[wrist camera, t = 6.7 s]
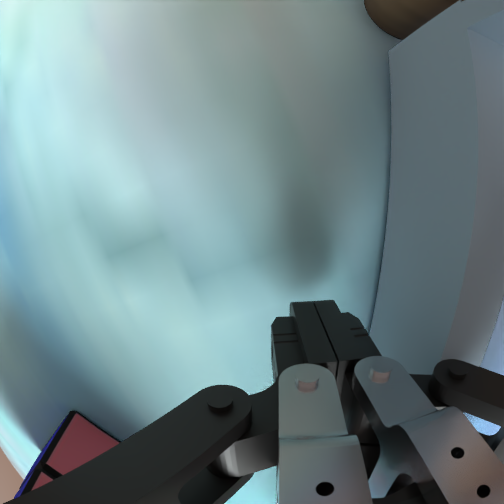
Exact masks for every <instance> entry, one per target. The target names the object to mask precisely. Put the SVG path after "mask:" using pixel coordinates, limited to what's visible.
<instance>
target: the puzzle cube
mask: <svg viewBox="0 0 504 504" xmlns="http://www.w3.org/2000/svg"><path fill="white" fill-rule="evenodd" d="M119 443H121V442H120V441H118V440H117V439H115V438H113V437H112V436H110V435H109V434H107V433H106V432H104V431H103V430H102V429H100V428H99V427H97V426H96V425H94V424H93V423H92V422H90V421H89V420H87V419H86V418H85V417H83V416H82V415H81V414H79V413H78V412H77V411H70V412H69V414H68V415H67V416H66V418H65V419H64V420H63V422H62V423H61V425H60V426H59V427H58V429H57V430H56V431H55V433H54V434H53V436H52V437H51V439H50V440H49V441H48V443H47V444H46V446H45V447H44V448H43V450H42V451H41V453H40V454H39V456H38V458H37V459H36V461H35V462H34V464H33V466H32V467H31V469H30V471H29V473H28V474H27V476H26V478H25V479H24V481H23V483H22V485H21V486H20V490H19V491H18V492H17V494H16V495H15V497H14V499H15V498H17V497H19V496H21V495H23V494H26V493H28V492H30V491H32V490H34V489H36V488H38V487H40V486H42V485H44V484H46V483H48V482H50V481H52V480H54V479H56V478H58V477H60V476H62V475H64V474H66V473H68V472H70V471H72V470H73V469H75V468H77V467H79V466H81V465H83V464H84V463H86V462H88V461H90V460H92V459H93V458H95V457H97V456H99V455H100V454H102V453H104V452H106V451H107V450H109V449H111V448H112V447H114V446H116V445H117V444H119Z"/></svg>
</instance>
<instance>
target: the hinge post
mask: <svg viewBox="0 0 504 504" xmlns="http://www.w3.org/2000/svg"><path fill="white" fill-rule="evenodd" d="M457 1H459V0H364V4H365V8H366V10H367V12H368V14H369V16H370V17H371V19H372V20H373V21H374V22H375V23H376V24H377V25H378V26H379V27H380V28H381V29H382V30H384V31H385V32H387V33H388V34H390V35H392V36H394V37H396V38H399V39H403V40H404V39H405V38H406V37H408V36H409V35H411V34H412V33H413V32H415V31H416V30H417V29H419V28H420V27H421V26H423V25H424V24H426V23H427V22H428V21H430V20H431V19H433V18H434V17H436V16H437V15H438V14H440V13H441V12H443V11H444V10H446V9H447V8H449V7H450V6H451V5H453V4H454V3H456V2H457ZM462 1H464V0H462Z"/></svg>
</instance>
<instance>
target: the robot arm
mask: <svg viewBox="0 0 504 504" xmlns="http://www.w3.org/2000/svg"><path fill="white" fill-rule="evenodd" d="M271 361H272V370H273V379H274V384H273V385H272V386H270V387H269V388H268V389H266V390H264V391H262V392H259V393H256V394H252V395H248V394H247V393H246V392H245V391H243V390H242V389H240V388H237V387H234V386H230V385H215V386H210V387H207V388H205V389H202V390H201V391H199V392H198V393H196V394H195V395H193V396H192V397H190V398H189V399H187V400H186V401H185V402H183V403H182V404H180V405H179V406H177V407H176V408H174V409H173V410H171V411H170V412H168V413H167V414H165V415H164V416H162V417H161V418H159V419H158V420H156V421H154V422H153V423H151V424H150V425H148V426H147V427H145V428H143V429H142V430H140V431H139V432H137V433H135V434H134V435H132V436H131V437H129V438H127V439H126V440H124V441H122V442H121V443H119V444H117V445H116V446H114V447H112V448H111V449H109V450H107V451H106V452H104V453H102V454H100V455H99V456H97V457H95V458H93V459H92V460H90V461H88V462H86V463H84V464H83V465H81V466H79V467H77V468H75V469H73V470H72V471H70V472H68V473H66V474H64V475H62V476H60V477H58V478H56V479H54V480H52V481H50V482H48V483H46V484H44V485H42V486H40V487H38V488H36V489H34V490H32V491H30V492H28V493H26V494H23V495H21V496H19V497H17V498H15V499H12V500H10V501H8V502H6V503H3V504H224V503H225V502H226V501H227V500H228V499H230V498H231V497H232V496H233V495H234V494H235V493H236V492H237V491H238V490H239V489H240V488H241V487H242V486H243V485H244V484H245V483H247V482H248V481H249V480H250V478H251V477H252V476H253V474H254V472H257V471H260V470H264V469H267V468H270V467H273V466H276V465H277V471H276V504H504V376H503V375H500V374H498V373H495V372H492V371H489V370H487V369H484V368H481V367H478V366H476V365H473V364H470V363H467V362H465V361H462V360H457V359H446V360H442V361H440V362H439V363H437V364H436V366H435V367H434V370H433V373H432V375H425V374H409V373H408V372H407V371H406V370H405V368H404V367H403V366H402V365H401V364H400V363H399V362H398V361H396V360H394V359H391V358H388V357H384V356H382V355H381V353H380V352H379V350H378V349H377V347H376V345H375V344H374V342H373V341H372V339H371V337H370V336H368V333H367V331H366V330H365V329H364V326H363V325H362V323H361V322H360V320H359V319H358V318H357V317H355V316H353V315H352V314H350V313H349V312H346V313H341V312H340V310H339V308H338V307H337V305H336V303H335V301H334V300H323V301H307V302H291V303H290V316H288V317H276V319H275V320H274V322H273V323H272V325H271ZM463 412H466V413H469V414H471V415H474V416H476V417H479V418H481V419H484V420H486V421H489V422H492V423H494V424H497V425H499V426H501V428H500V430H499V431H498V432H497V433H496V434H494V435H490V436H488V435H485V434H482V433H479V432H478V431H477V430H476V429H475V428H474V426H473V425H472V424H471V423H470V421H469V420H468V419H467V418H466V416H465V415H464V414H463Z"/></svg>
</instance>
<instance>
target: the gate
mask: <svg viewBox="0 0 504 504" xmlns="http://www.w3.org/2000/svg"><path fill="white" fill-rule="evenodd" d="M388 56H389V69H390V87H391V168H390V187H389V201H388V213H387V224H386V234H385V243H384V251H383V258H382V266H381V273H380V279H379V286H378V292H377V298H376V303H375V309H374V314H373V319H372V324H371V329H370V334H369V336H370V337H371V339H372V341H373V342H374V344H375V345H376V347H377V349H378V350H379V352H380V353H381V355H382V356H384V357H388V358H391V359H394V360H396V361H398V362H399V363H400V364H401V365H402V366H403V367H404V368H405V370H406V371H407V372H408V373H409V374H425V375H432V373H433V370H434V367H435V366H436V364H437V363H439V362H440V361H442V360H446V359H457V360H462V361H465V362H467V363H470V364H473V365H476V366H478V367H480V365H481V362H482V360H483V357H484V355H485V352H486V349H487V347H488V344H489V341H490V338H491V336H492V333H493V330H494V327H495V324H496V321H497V318H498V314H499V311H500V308H501V304H502V301H503V297H504V0H464V1H462V0H459V1H457V2H456V3H454V4H453V5H451V6H450V7H449V8H447V9H446V10H444V11H443V12H441V13H440V14H438V15H437V16H436V17H434V18H433V19H431V20H430V21H428V22H427V23H426V24H424V25H423V26H421V27H420V28H419V29H417V30H416V31H415V32H413V33H412V34H411V35H409V36H408V37H406V38H405V39H404V40H402V41H401V42H400V43H398V44H397V45H396V46H395V47H393V48H392V49H391V50H389V51H388Z"/></svg>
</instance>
